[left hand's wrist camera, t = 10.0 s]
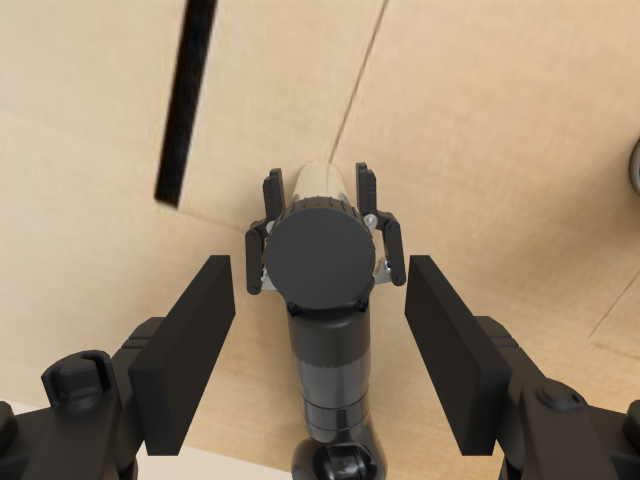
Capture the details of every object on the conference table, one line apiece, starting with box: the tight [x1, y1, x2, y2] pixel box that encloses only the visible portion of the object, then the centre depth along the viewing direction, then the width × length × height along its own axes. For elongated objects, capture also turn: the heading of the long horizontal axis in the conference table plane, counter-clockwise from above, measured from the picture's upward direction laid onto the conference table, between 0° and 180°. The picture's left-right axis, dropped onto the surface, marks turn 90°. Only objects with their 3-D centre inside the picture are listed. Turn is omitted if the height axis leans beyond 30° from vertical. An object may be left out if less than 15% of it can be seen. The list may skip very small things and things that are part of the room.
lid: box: [264, 195, 375, 309], centre depth 18 cm, size 5×5×2 cm
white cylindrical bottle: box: [289, 159, 351, 206], centre depth 26 cm, size 4×4×18 cm
